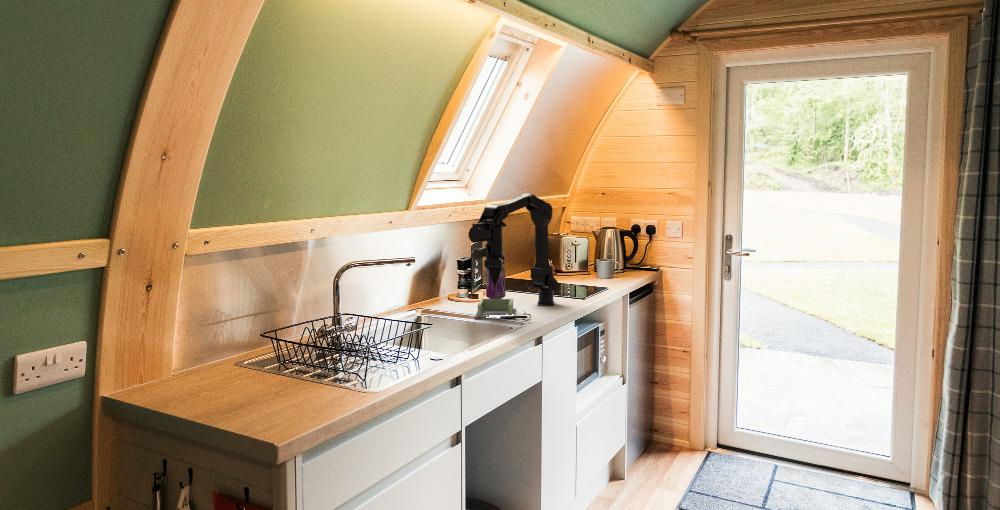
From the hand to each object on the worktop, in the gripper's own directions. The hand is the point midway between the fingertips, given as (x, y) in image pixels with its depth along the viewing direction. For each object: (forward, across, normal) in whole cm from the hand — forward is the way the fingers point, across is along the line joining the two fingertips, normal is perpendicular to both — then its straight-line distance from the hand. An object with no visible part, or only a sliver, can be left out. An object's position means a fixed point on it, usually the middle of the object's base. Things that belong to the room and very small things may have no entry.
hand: (495, 282), depth 283 cm
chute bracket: (+12, -1, 0) cm, 12 cm away
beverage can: (+6, 0, 0) cm, 6 cm away
